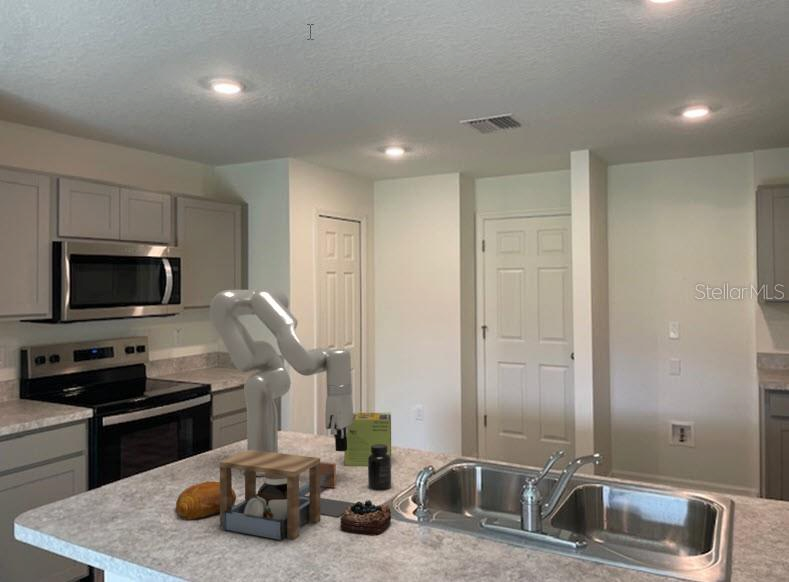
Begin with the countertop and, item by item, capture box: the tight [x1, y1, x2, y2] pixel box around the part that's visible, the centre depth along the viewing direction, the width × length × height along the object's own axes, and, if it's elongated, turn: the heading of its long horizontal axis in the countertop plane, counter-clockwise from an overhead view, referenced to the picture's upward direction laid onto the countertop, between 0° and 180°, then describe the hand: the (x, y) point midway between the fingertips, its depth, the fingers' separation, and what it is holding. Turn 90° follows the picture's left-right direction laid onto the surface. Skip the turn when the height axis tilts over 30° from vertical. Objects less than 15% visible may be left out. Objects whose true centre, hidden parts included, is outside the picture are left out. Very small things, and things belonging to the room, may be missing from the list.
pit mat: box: [303, 495, 355, 518], centre depth 160 cm, size 26×10×1 cm, turn 67°
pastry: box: [340, 499, 392, 537], centre depth 146 cm, size 11×12×6 cm
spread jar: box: [244, 473, 287, 520], centre depth 147 cm, size 12×11×12 cm
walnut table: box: [219, 450, 322, 540], centre depth 147 cm, size 21×12×16 cm, turn 67°
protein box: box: [343, 412, 392, 467], centre depth 200 cm, size 10×15×16 cm
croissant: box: [175, 480, 237, 520], centre depth 158 cm, size 14×16×8 cm
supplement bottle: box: [367, 444, 392, 491], centre depth 174 cm, size 7×7×12 cm
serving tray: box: [221, 461, 337, 541], centre depth 157 cm, size 16×38×7 cm, turn 157°
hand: (341, 450), depth 180 cm, fingers closed
